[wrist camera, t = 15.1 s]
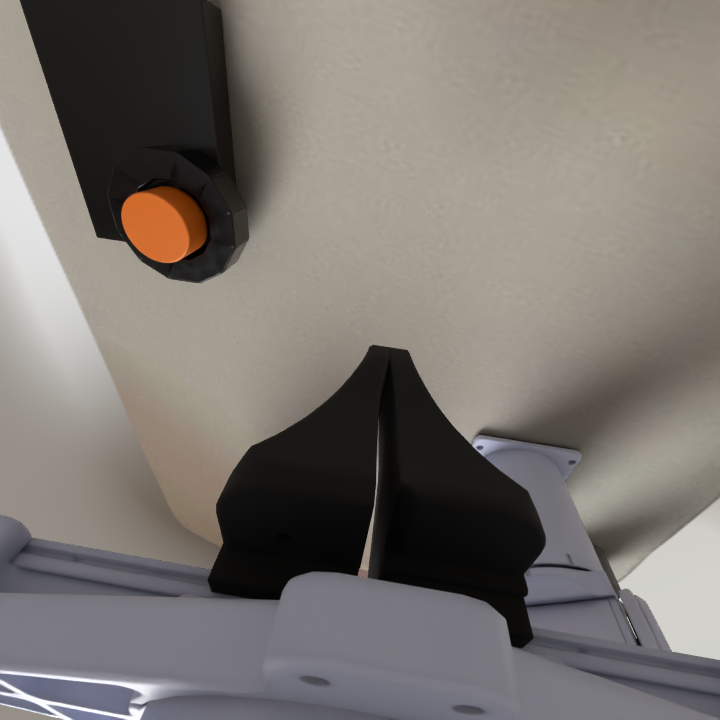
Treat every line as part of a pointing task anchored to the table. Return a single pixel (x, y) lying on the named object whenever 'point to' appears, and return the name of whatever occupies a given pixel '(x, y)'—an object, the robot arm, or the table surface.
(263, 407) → the table surface
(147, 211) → the button
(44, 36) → the switch box
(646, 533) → the table surface
